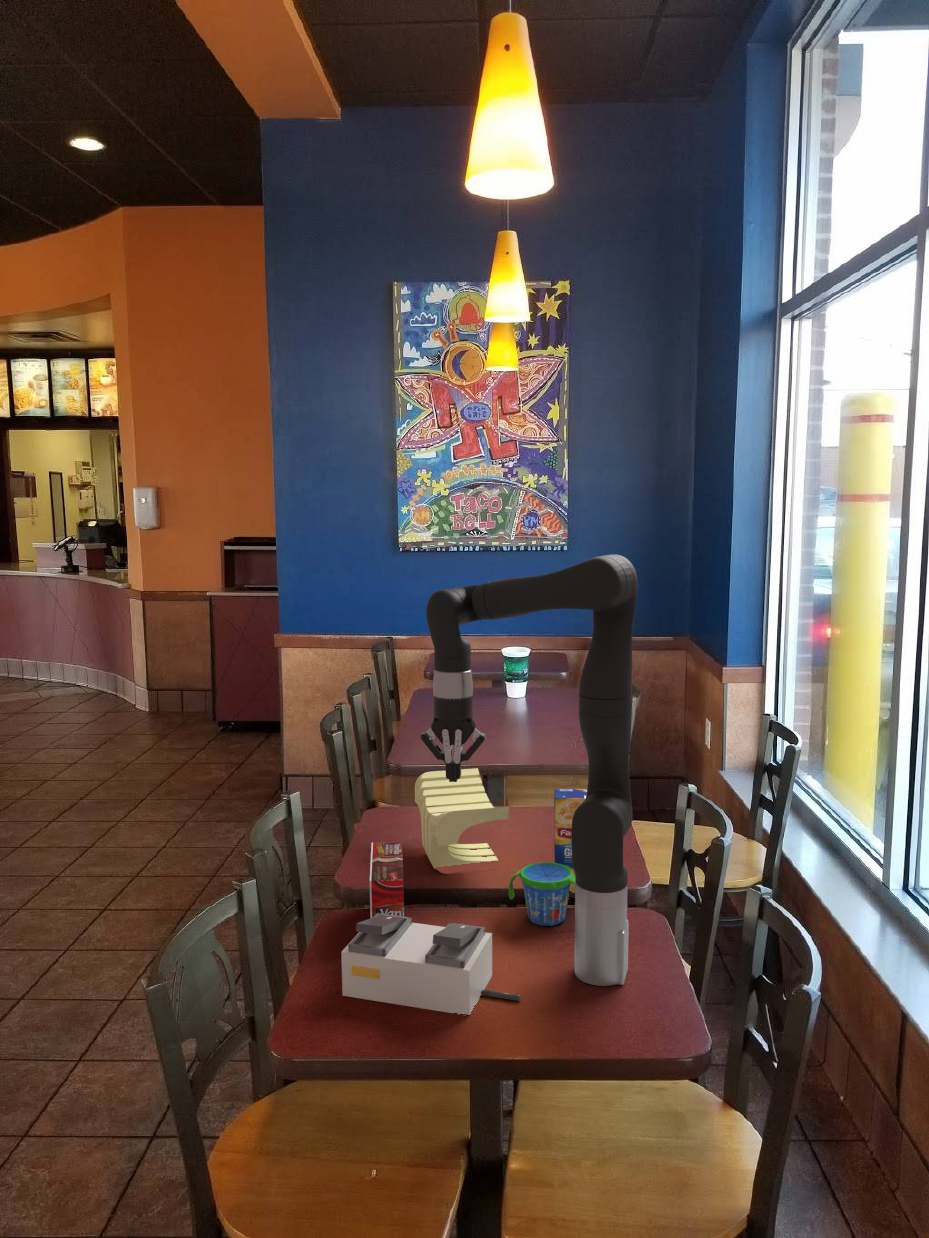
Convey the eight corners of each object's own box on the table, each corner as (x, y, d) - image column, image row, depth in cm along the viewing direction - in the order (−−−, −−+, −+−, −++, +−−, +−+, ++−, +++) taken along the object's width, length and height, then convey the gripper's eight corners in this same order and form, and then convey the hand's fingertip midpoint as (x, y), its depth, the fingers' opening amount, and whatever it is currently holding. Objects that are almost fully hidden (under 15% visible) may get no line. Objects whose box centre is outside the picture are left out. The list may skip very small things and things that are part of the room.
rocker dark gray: (403, 926, 174) (404, 918, 174) (381, 935, 164) (382, 926, 164) (379, 923, 176) (380, 914, 176) (355, 931, 165) (356, 922, 165)
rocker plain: (477, 935, 170) (478, 926, 170) (459, 947, 160) (460, 938, 160) (452, 931, 172) (452, 923, 172) (432, 943, 161) (433, 934, 161)
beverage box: (606, 899, 204) (607, 799, 201) (554, 898, 205) (554, 798, 202) (603, 886, 211) (605, 789, 208) (553, 884, 212) (554, 788, 209)
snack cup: (500, 922, 194) (500, 874, 192) (521, 902, 203) (521, 856, 202) (573, 937, 187) (574, 888, 185) (591, 916, 196) (592, 868, 195)
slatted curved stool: (415, 842, 238) (414, 772, 236) (478, 836, 241) (477, 768, 239) (438, 890, 209) (437, 812, 206) (509, 884, 212) (509, 806, 210)
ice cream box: (372, 902, 203) (371, 842, 202) (403, 901, 204) (402, 841, 202) (371, 947, 184) (369, 880, 182) (404, 945, 184) (403, 879, 182)
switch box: (530, 980, 170) (530, 931, 169) (510, 1023, 157) (510, 970, 156) (373, 957, 179) (372, 911, 178) (341, 996, 166) (340, 946, 164)
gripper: (415, 696, 180) (416, 785, 182) (485, 697, 178) (485, 787, 180) (421, 688, 187) (423, 774, 189) (489, 689, 185) (489, 776, 188)
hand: (453, 780), depth 185 cm, fingers closed
